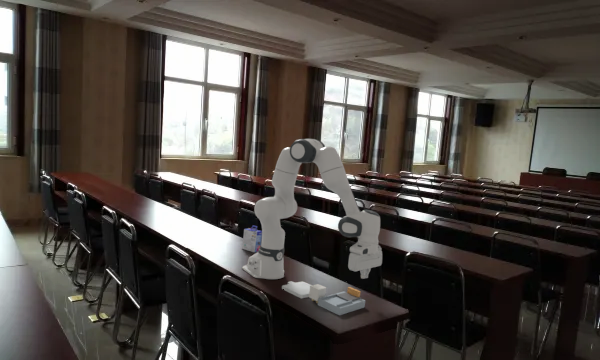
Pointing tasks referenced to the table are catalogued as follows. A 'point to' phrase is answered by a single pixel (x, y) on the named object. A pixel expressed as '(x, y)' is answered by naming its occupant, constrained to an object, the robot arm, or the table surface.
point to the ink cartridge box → (252, 239)
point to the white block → (317, 292)
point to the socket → (340, 304)
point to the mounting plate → (298, 289)
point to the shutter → (350, 294)
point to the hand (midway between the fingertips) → (364, 277)
